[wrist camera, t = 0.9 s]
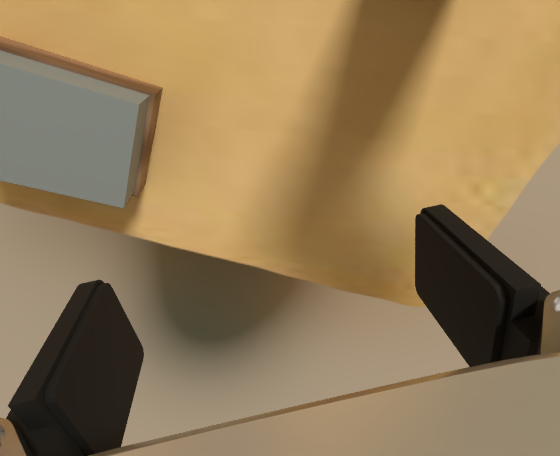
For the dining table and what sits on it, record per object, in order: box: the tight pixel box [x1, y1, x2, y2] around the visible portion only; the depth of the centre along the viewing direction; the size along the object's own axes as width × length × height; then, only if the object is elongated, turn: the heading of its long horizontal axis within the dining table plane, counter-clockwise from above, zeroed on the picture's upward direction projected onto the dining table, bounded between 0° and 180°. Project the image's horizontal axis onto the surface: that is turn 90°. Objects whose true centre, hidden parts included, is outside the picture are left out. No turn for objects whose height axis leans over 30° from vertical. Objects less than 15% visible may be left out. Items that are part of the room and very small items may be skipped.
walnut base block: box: [0, 36, 163, 197], centre depth 37 cm, size 11×15×4 cm
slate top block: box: [0, 50, 150, 208], centre depth 33 cm, size 10×14×4 cm
